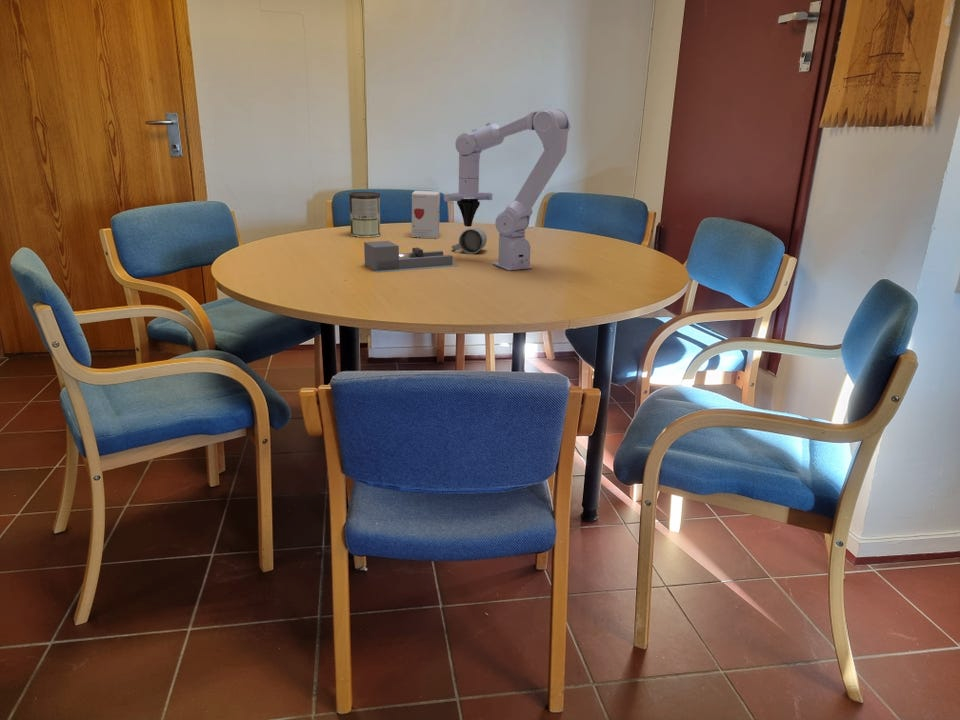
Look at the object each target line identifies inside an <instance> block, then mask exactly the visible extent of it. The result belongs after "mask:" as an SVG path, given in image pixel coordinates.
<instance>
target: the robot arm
mask: <svg viewBox="0 0 960 720" xmlns="http://www.w3.org/2000/svg"><path fill="white" fill-rule="evenodd" d="M527 130H529V131H535V132H536V135H537V136H538V138H539V140H540V141H541V144H542V147H543V152H542V154H541V155H540V157H539V158H538V160H537V162H536V163H535V165H534V167H533V169H532V170H531V171H530V173H529V174H528V177H527V178H526V180H525V182H524V183H523V185H522V187H521V189H520V190H519V192H518V194H517V195H516V197H515V199H514V200H513V201H511V202H510V203H509V204H508V205H507V206H506V208H505V209H504V210H503V211H502V212H500V213H499V214H498V215H497V216H496V218H495V222H494V223H495V228H496V230H497V232H498V233H499V234H498V235H499V236H498V237H499V238H498V260H497V261H492V265H494V266H497V267H500V268H501V269H503V270H506V271H517V270H518V271H519V270H528V269H533V266H532V265H530V264H531V263H530V262H531V245H530V242H529V241H528V240H527V239H526V229H527V228H528V227H529V225H530V219H531V216H532V214H533V207H534V205H535V204H536V202H537V200H538V199H539V197H540V196H541V194H542V192H543V190H544V189H545V188H546V185H547V184H548V183H549V181H550V179H551V178H552V176H553V174H554V173H555V171H556V170H557V168H558V166H559V165H560V163H561V162H562V160H563V158H564V157H565V155H566V154H567V148H568V136H569V131H570V130H571V123H570V120H569V117H568V115H567V113H566V112H565V111H564V110H563V109H548V108H541V109H539V110H535V111H531V112H528V113H526V114H523V115H521V116H519V117H517V118H515V119H511V120H510V121H508V122H505V123H504V124H501V125H500V124H498V123H496V122H494V123H493V122H491V121H490V122H487V123H485V126H483V127H481V128H478V129H477V128H473V129H472V130H471V132H470V133H468V132H463V133H461V134H459V135H458V136H457V138H456V140H455V143H454V144H455V149H456V152H457V153H459V154H458V192H456V193H455V192H454V193H452V192H451V193H444V194H443V201H444V202H456V204H457V206H458V208H459V211H460V213H461V217H462V220H463V225H464V226H465V227H466V228H468V227H469V228H471V227H472V225H473V221H474V218H475V214H476V213H477V211H478V208H479V207H480V205H481V202H480V201H493V193H492V192H479V189H480V187H479V185H480V157H481V153H482V152H483V151H485V150H488V149H491V148H493V147H496V146H499V145H501V144H502V143H504V140H505V138H506V137H508V136H513V135H515V134H517V133H521V132H523V131H527Z"/></svg>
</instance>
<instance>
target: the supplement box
mask: <svg viewBox="0 0 960 720" xmlns="http://www.w3.org/2000/svg"><path fill="white" fill-rule="evenodd" d="M440 201H441V191H434V190H431V191H430V190H414V191H413V192H412V193H411V238H412V237H417V238H418V239H434V238H437V239H438V238H439V235H440V214H441V213H440V210H441V209H440V203H441V202H440ZM419 237H420V238H419Z"/></svg>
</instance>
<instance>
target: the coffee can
mask: <svg viewBox="0 0 960 720" xmlns="http://www.w3.org/2000/svg"><path fill="white" fill-rule="evenodd" d="M380 196H381V194H380V192H375V191H356V192H349V193H348V197H349V216H350V220H349V221H350V223H349V224H350V236H351V235H352V236H351V237H353V236H357V237H356V238H359V237H372V238H377V236H378V237H381V212H380V211H381V208H380V206H381V203H380V201H381V200H380V199H381V198H380Z"/></svg>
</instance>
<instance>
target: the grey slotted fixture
mask: <svg viewBox="0 0 960 720" xmlns="http://www.w3.org/2000/svg"><path fill="white" fill-rule="evenodd" d="M363 244H364V245H363V246H364V248H363V249H364V263H362V265H363V266H365V267H367V268H369V269H370V270H371V271H374V272H375V273H377V274H378V273H388V272H390V273H391V272H403V271H417V270H428V269H441V268H451V267H452V268H453V267H455V268H456V267H459V264H458V265H457V264H455V263H454V262H453V258H454V257H453V255H452V254H446V255H444V251H442V250H434V251H432V250H431V251H423V257H415V258H401V259H399V254H402V253H399V252H400V251H399V250H400V249H399V247H400V246H399V245H398V244H395V243H394V242H392V241H390V240H382V241H381V240H379V241H377V240H376V241H364V242H363Z"/></svg>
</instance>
